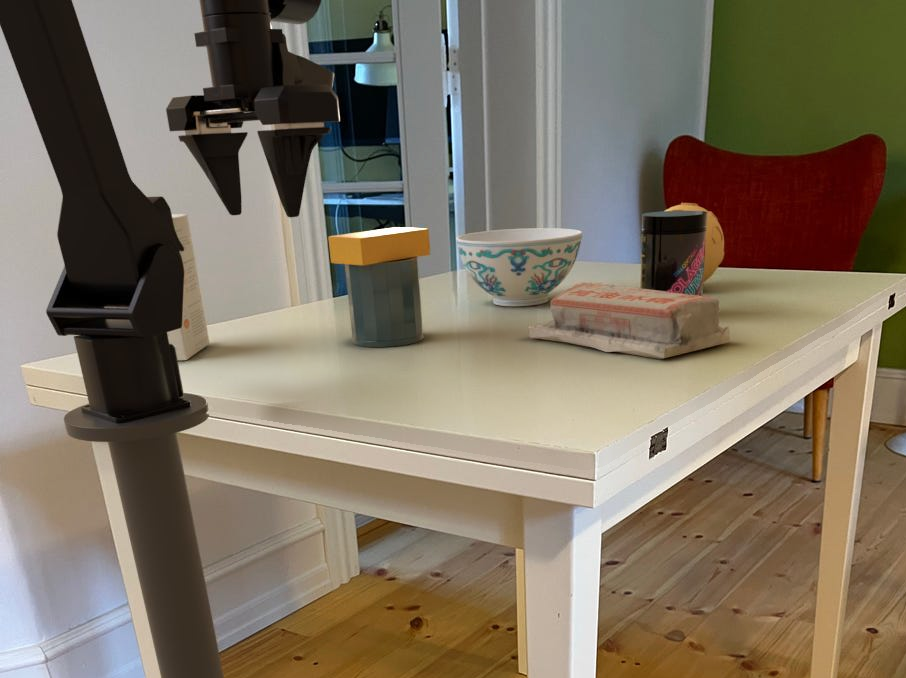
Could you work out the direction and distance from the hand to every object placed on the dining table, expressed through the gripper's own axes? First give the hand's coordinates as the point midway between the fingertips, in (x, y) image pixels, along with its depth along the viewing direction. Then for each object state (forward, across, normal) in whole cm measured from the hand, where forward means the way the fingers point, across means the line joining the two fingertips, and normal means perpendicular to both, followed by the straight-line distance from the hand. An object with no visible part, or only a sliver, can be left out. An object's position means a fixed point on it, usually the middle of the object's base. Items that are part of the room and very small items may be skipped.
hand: (263, 215), depth 91 cm
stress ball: (+13, -10, -54) cm, 56 cm away
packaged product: (+13, -24, -24) cm, 36 cm away
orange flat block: (+5, -2, -12) cm, 13 cm away
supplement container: (+13, -20, -37) cm, 44 cm away
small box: (+13, +13, +5) cm, 19 cm away
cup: (+13, -2, -12) cm, 18 cm away
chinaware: (+13, +2, -37) cm, 39 cm away
